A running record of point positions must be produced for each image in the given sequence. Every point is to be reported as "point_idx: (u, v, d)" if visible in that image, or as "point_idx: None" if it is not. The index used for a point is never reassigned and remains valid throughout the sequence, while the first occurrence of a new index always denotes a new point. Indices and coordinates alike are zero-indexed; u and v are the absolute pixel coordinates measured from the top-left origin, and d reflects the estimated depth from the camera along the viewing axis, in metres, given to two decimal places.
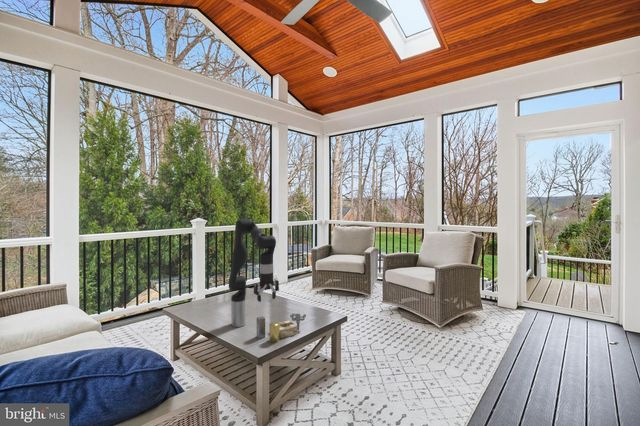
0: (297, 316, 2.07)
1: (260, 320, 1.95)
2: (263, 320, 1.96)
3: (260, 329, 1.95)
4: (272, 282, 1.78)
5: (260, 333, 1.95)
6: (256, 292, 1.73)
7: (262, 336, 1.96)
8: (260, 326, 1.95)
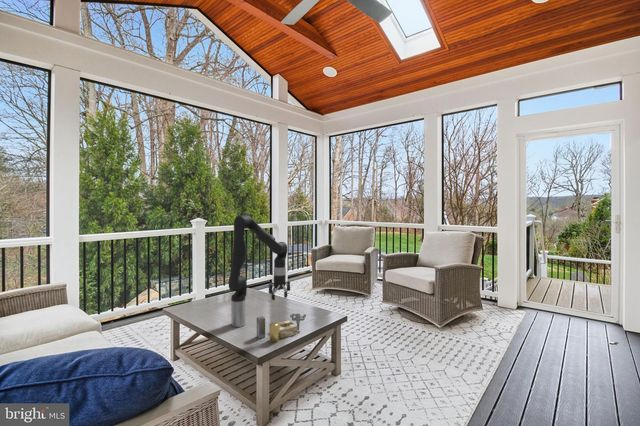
0: (297, 316, 2.07)
1: (260, 320, 1.95)
2: (263, 320, 1.96)
3: (260, 329, 1.95)
4: (284, 283, 2.02)
5: (260, 333, 1.95)
6: (271, 292, 1.96)
7: (262, 336, 1.96)
8: (260, 326, 1.95)
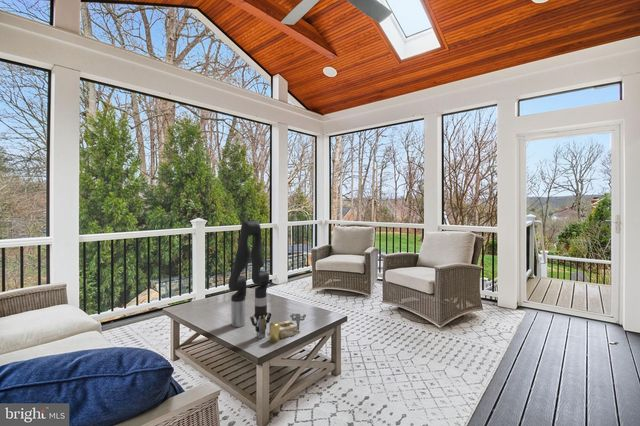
0: (297, 316, 2.07)
1: (260, 320, 1.95)
2: (263, 320, 1.96)
3: (260, 329, 1.95)
4: (266, 313, 1.98)
5: (260, 333, 1.95)
6: (254, 324, 1.93)
7: (262, 336, 1.96)
8: (260, 326, 1.95)
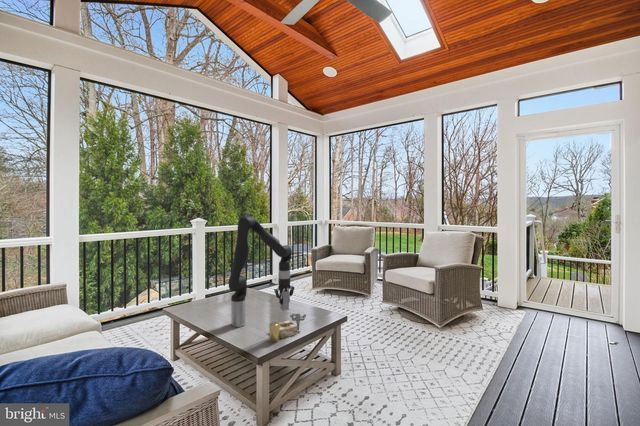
0: (297, 316, 2.07)
1: (284, 292, 2.00)
2: (287, 293, 2.01)
3: (284, 301, 2.00)
4: (289, 286, 2.03)
5: (284, 305, 2.00)
6: (278, 296, 1.98)
7: (286, 308, 2.01)
8: (284, 298, 2.00)
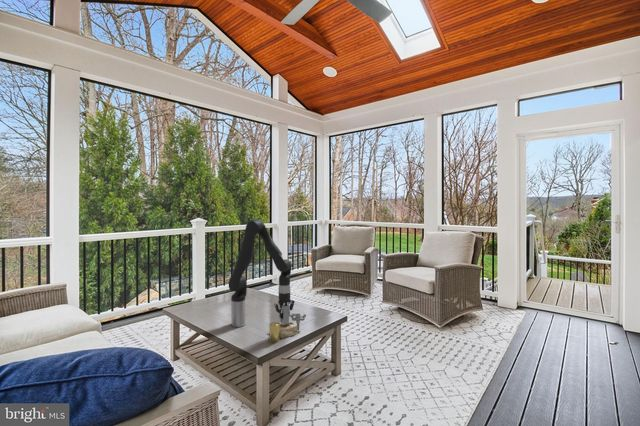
0: (297, 316, 2.07)
1: (284, 307, 2.00)
2: (287, 307, 2.01)
3: (284, 316, 2.00)
4: (289, 300, 2.03)
5: (284, 320, 2.00)
6: (278, 311, 1.99)
7: (286, 323, 2.01)
8: (284, 313, 2.00)
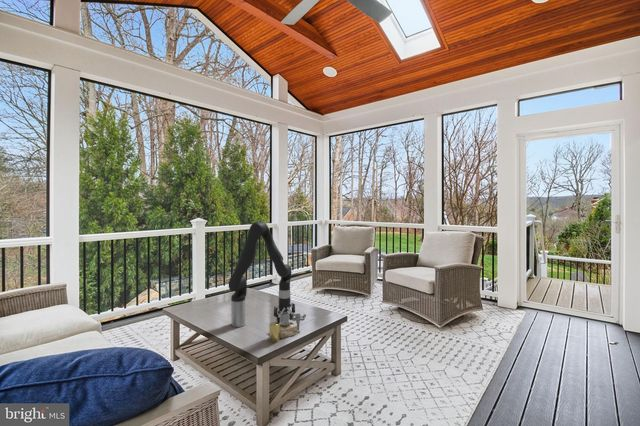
0: (297, 316, 2.07)
1: (284, 315, 2.00)
2: (287, 315, 2.02)
3: (284, 323, 2.01)
4: (289, 305, 2.03)
5: None
6: (276, 315, 1.98)
7: None
8: (284, 321, 2.01)
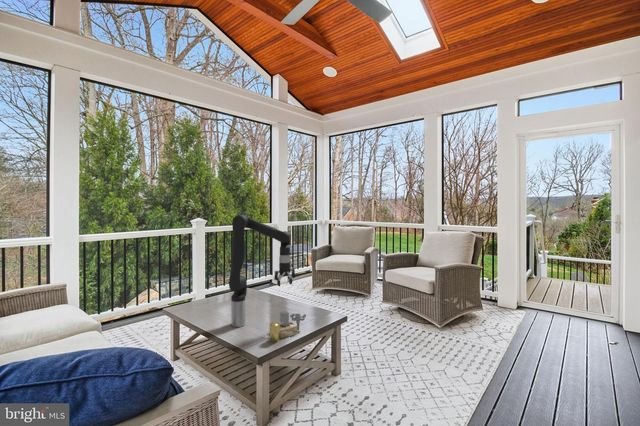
0: (297, 316, 2.07)
1: (284, 315, 2.00)
2: (287, 315, 2.02)
3: (284, 323, 2.01)
4: (289, 270, 2.14)
5: None
6: (276, 278, 2.09)
7: None
8: (284, 321, 2.01)
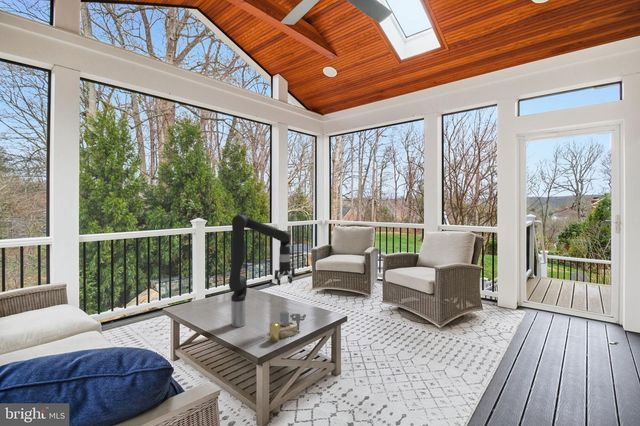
0: (297, 316, 2.07)
1: (284, 315, 2.00)
2: (287, 315, 2.02)
3: (284, 323, 2.01)
4: (289, 269, 2.15)
5: None
6: (276, 277, 2.10)
7: None
8: (284, 321, 2.01)
